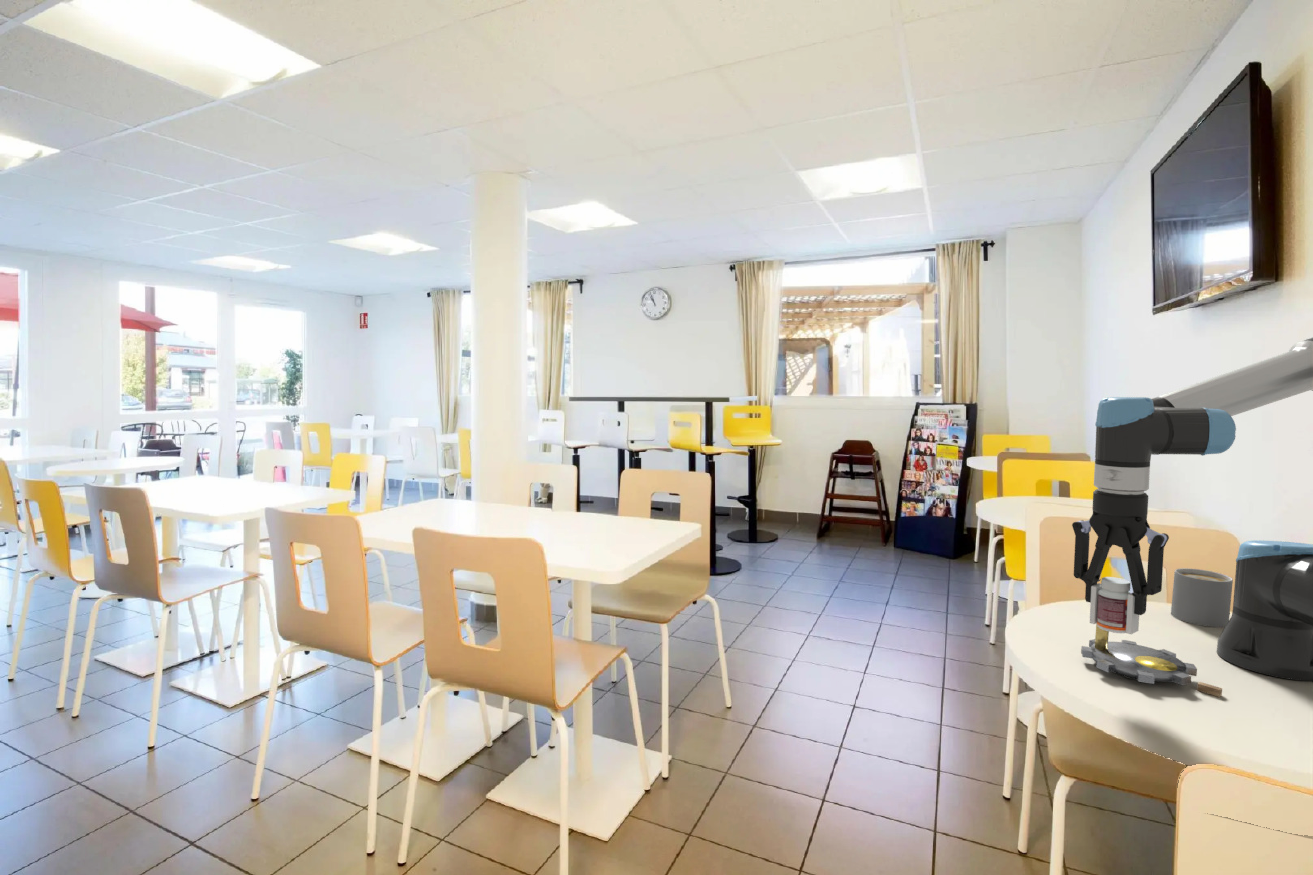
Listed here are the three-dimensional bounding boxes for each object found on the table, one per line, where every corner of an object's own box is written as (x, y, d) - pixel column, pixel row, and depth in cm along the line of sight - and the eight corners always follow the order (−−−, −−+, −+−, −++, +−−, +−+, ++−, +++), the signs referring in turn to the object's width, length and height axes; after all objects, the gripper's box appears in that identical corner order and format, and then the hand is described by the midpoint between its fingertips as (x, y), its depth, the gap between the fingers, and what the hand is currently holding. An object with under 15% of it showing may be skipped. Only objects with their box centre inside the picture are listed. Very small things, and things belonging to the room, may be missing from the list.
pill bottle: (1131, 636, 109) (1134, 586, 108) (1096, 630, 112) (1099, 581, 111) (1129, 626, 113) (1132, 578, 112) (1096, 621, 116) (1098, 574, 115)
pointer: (1197, 690, 113) (1197, 683, 113) (1199, 688, 114) (1199, 681, 114) (1219, 697, 111) (1220, 690, 111) (1221, 695, 112) (1222, 688, 111)
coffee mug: (1230, 630, 141) (1234, 584, 140) (1170, 619, 147) (1174, 575, 146) (1225, 613, 151) (1230, 570, 150) (1170, 603, 157) (1174, 562, 156)
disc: (1124, 640, 131) (1127, 609, 130) (1220, 677, 115) (1223, 642, 115) (1060, 651, 126) (1062, 618, 125) (1150, 691, 110) (1153, 654, 109)
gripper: (1052, 485, 116) (1047, 615, 118) (1175, 500, 101) (1166, 649, 103) (1074, 481, 120) (1068, 607, 122) (1195, 495, 105) (1186, 638, 107)
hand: (1113, 626), depth 112 cm, fingers closed on pill bottle, 5 cm apart
